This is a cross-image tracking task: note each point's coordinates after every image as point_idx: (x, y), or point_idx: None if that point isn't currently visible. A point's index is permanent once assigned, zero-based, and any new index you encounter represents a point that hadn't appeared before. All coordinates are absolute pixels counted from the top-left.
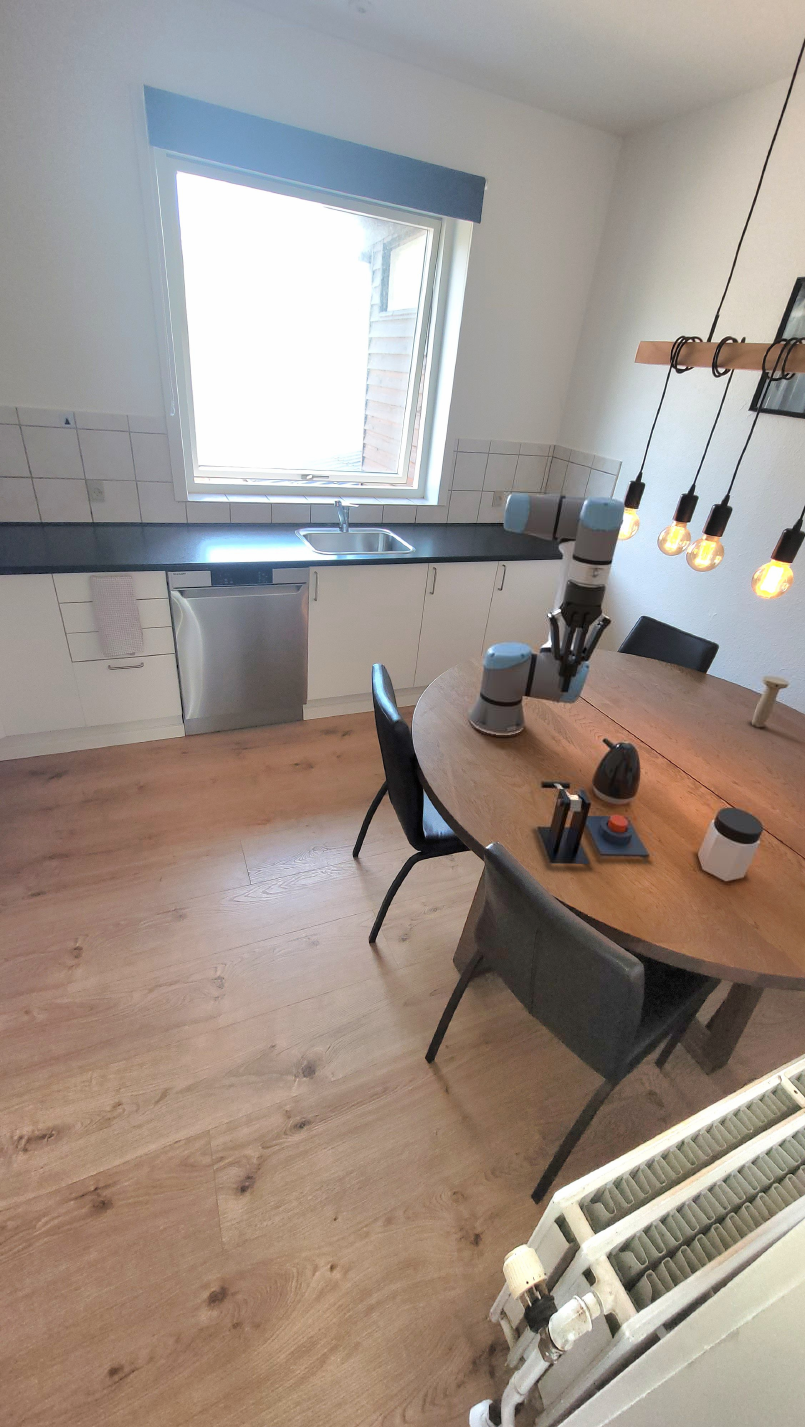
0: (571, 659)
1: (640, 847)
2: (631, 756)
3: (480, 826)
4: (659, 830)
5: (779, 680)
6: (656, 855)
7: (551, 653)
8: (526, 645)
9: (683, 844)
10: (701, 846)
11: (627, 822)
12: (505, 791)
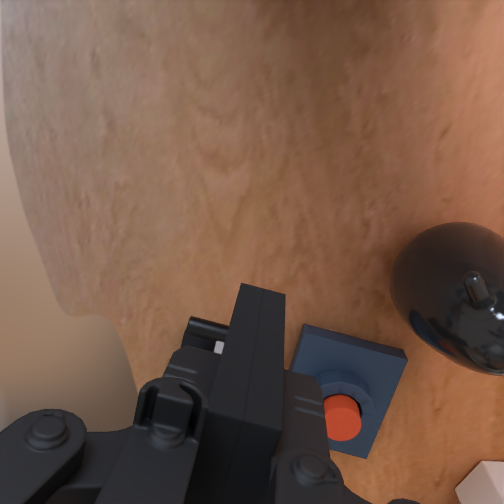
0: (271, 464)
1: (364, 440)
2: (494, 375)
3: (75, 284)
4: (464, 386)
5: None
6: (396, 439)
7: (17, 419)
8: None
9: (479, 430)
10: (489, 479)
11: (355, 435)
12: (178, 180)
